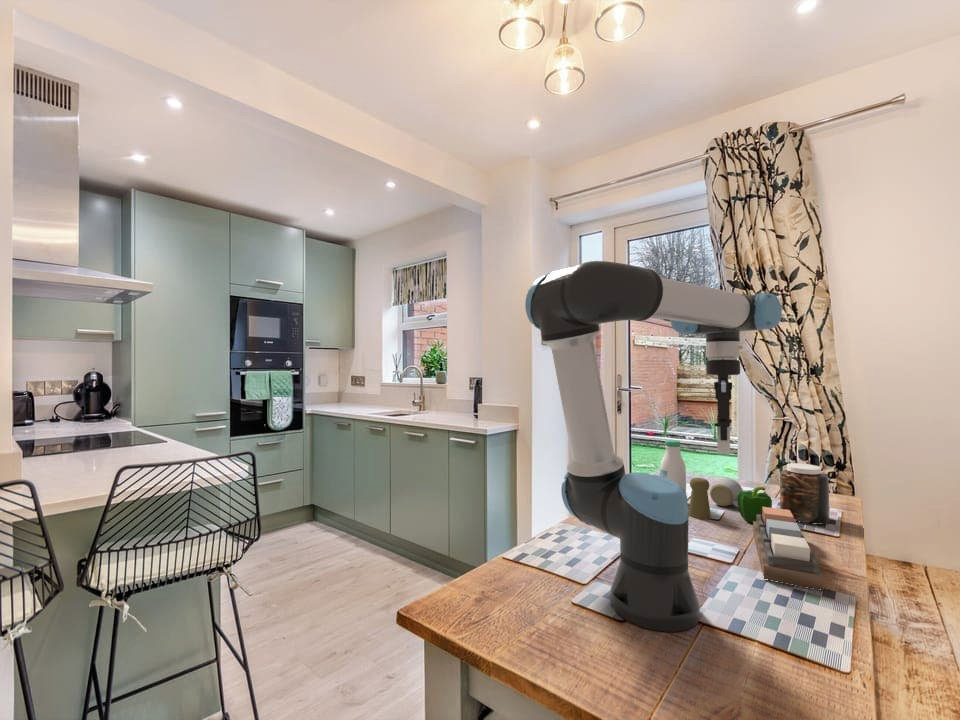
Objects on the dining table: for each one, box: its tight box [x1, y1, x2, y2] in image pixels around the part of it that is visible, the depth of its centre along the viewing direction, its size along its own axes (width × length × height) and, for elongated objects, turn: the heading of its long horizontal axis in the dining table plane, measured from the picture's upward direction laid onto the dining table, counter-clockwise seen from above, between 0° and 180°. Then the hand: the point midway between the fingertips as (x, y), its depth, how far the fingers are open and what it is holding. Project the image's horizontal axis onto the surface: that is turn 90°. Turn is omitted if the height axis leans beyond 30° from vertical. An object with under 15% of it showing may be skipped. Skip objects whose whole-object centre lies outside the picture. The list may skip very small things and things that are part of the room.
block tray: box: [752, 514, 825, 591], centre depth 104 cm, size 30×10×5 cm, turn 153°
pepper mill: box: [688, 477, 712, 520], centre depth 133 cm, size 6×6×11 cm
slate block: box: [766, 519, 802, 539], centre depth 104 cm, size 6×6×3 cm
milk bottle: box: [659, 439, 687, 493], centre depth 146 cm, size 8×8×20 cm
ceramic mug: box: [709, 478, 744, 509], centre depth 143 cm, size 11×8×8 cm
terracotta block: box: [762, 507, 794, 524], centre depth 114 cm, size 6×6×3 cm
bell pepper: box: [738, 486, 773, 524], centre depth 128 cm, size 8×8×10 cm
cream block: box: [771, 533, 811, 561], centre depth 95 cm, size 6×6×3 cm
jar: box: [779, 462, 830, 524], centre depth 131 cm, size 12×12×15 cm
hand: (723, 450), depth 113 cm, fingers open, 7 cm apart
